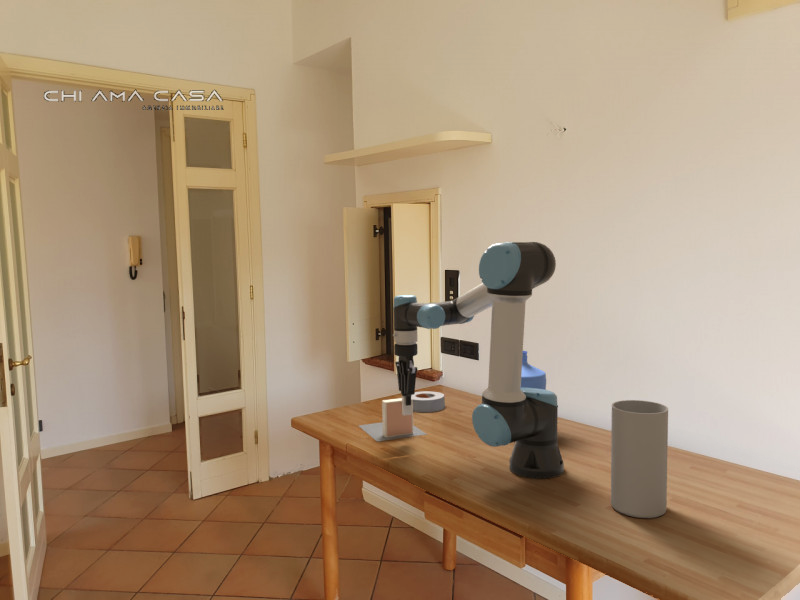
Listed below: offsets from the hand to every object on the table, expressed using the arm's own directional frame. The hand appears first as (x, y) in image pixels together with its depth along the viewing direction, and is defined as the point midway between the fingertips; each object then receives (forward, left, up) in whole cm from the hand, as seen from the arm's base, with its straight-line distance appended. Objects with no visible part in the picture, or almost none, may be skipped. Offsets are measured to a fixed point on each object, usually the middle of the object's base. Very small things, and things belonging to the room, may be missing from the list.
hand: (406, 414), depth 199 cm
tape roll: (+38, -24, -10) cm, 46 cm away
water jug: (-7, -40, -10) cm, 42 cm away
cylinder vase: (-70, -31, -10) cm, 77 cm away
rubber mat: (+14, 0, -10) cm, 17 cm away
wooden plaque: (+8, 0, -9) cm, 12 cm away
